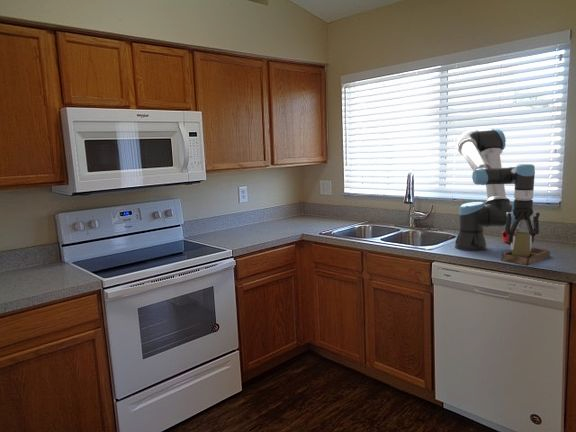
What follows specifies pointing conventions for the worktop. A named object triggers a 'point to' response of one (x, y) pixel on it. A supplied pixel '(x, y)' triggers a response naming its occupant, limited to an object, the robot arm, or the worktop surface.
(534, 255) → the organizer
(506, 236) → the pomegranate
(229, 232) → the worktop surface
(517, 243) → the squeeze bottle
